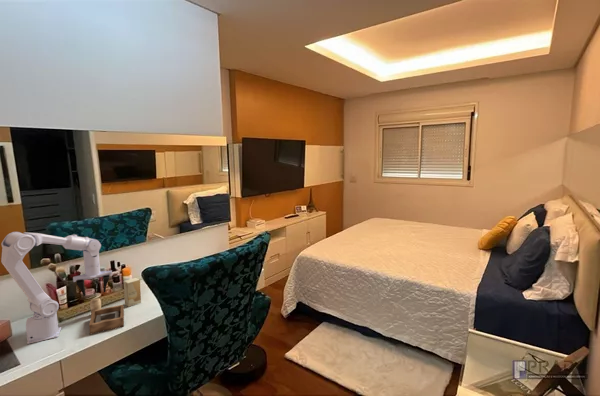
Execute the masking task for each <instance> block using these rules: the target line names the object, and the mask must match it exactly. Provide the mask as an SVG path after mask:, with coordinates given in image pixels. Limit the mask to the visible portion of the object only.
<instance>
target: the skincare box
mask: <svg viewBox="0 0 600 396" xmlns="http://www.w3.org/2000/svg"><path fill="white" fill-rule="evenodd" d="M123 292H124V293H123V294H124V295H123V296H124V305H125V306H126V307H128V308H130V307H132V306H136V305H139V304H142V296H141V294H142V293H141V292H142V291H141V280H140V278H138V277H135V278H134V277H133V278H129V279H126V280H123Z"/></svg>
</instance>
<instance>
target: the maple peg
mask: <svg viewBox="0 0 600 396" xmlns="http://www.w3.org/2000/svg"><path fill="white" fill-rule="evenodd" d="M89 304H90V305H89V306H90V307H89V308H90V313H91V314H90V315H92V311H94V310H99V309H102V301H101V298H93V299H91V300H90V301H89Z"/></svg>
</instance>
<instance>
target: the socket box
mask: <svg viewBox="0 0 600 396" xmlns="http://www.w3.org/2000/svg"><path fill="white" fill-rule="evenodd" d="M90 315H91V314H90ZM88 326H89V327H88V328H89V335H94V334H98V332H99V333H102V332H108V331H111V330H116V329H120V328H124V326H125V309H124V304H119V305H118V304H117V305H114V306H110V307H105V308H101V309H99V310H94V311H92V315H91V316H90V320H89V325H88ZM115 328H116V329H115Z"/></svg>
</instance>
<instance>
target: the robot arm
mask: <svg viewBox="0 0 600 396" xmlns="http://www.w3.org/2000/svg"><path fill="white" fill-rule="evenodd" d="M41 244H50V245H59V246H62V247H63V248H64V249H65V250H73V251H83V252H82V253H83V262H84V263H83V264H84V274H83V273H82V274H80V275H75V276H73V277H72V282H73V283H75V282H76V283H75V284H76V286H77V287H78V288H79V290H80V291H81V293H82V297H86V294H87V293H86V288H85V280H91V279H97V278H102V282H103V283H102V284H103V293H106V291H107V290H106V288H107V285H108V282H109V279H110V276H113V270H112V269H111V270H103V271H101V265H100V264H101V263H100V262H101V261H100V250H101V248H102V244H101V242H100V241H99V240H98V239H96V238H90V237H89V236H78V234H71V235H67V236H65V237H62V236H57V235H50V234H46V233H40V232H39V233H38V232H26V231H25V232H23V233H22V232H20V231H12V232H10V233H8V234H7V235H6V236H4V239H3V240H2V242H1V244H0V245H1V248H2V249H1V258H0V259H1V264H2V265H3V266H4V268H5V269H6V271H7V272H8V274H9V275H10V276H11V278H12V280H14V281H15V283H16V284H17V286H18V287H19V288H20V290H21V291H22V292H23V294H24V295H25V296H26V297H27V301H28V305H29V310H30V311H32V312H33V316H31V317H27V319H26V322H25V331H26V340H27V345H29V344H32V343H37V342H42V341H45V340H47V341H48V340H50V339H56V338H58V337H59V335H60V332H61V330H62V326H59V322H58V313H57V312H58V310H59V308H60V305H59V303H58V301H56V300H54V299H52V298H51V296H49V295H48V294H47V293H46V292H45V291H44V290H43V288H42V287H41V285H40V284H39V282H38V281H37V280H36V278H35V277H34V276H33V274H32V272H31V271H30V270H29V268H28V267H27V265H26V264H25V263H24V261H23V260H24V258H25V256H26V255H27V254H28V253H29V252H30V251H31V250H32V249H33V248H34V247H38V246H39V245H41Z"/></svg>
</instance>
